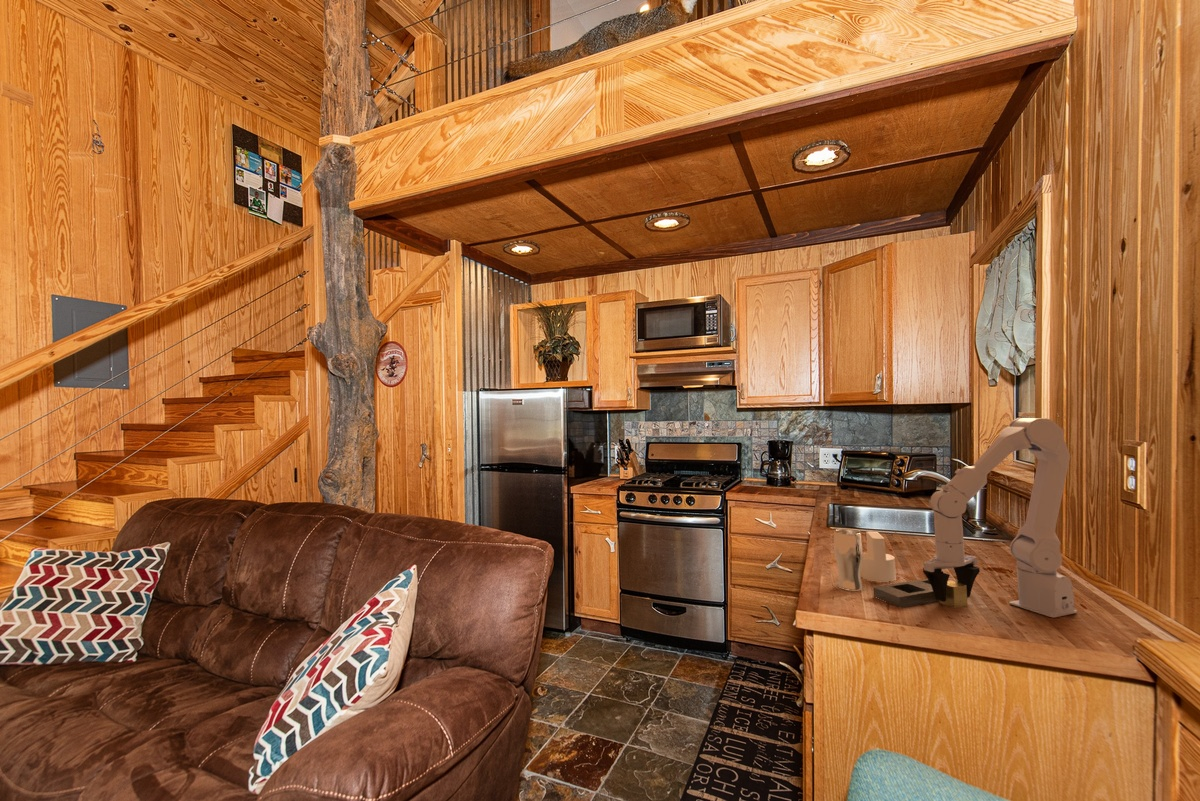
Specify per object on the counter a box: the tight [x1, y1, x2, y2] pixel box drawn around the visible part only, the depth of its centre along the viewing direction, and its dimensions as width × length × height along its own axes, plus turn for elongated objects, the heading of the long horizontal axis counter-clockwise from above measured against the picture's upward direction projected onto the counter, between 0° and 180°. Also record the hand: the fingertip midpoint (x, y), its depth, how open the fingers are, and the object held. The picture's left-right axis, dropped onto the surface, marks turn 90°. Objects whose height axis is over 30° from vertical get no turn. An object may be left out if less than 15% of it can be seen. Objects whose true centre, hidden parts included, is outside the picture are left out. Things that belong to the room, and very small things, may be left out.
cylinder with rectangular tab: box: [861, 530, 897, 583], centre depth 148 cm, size 9×9×12 cm
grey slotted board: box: [872, 577, 958, 609], centre depth 132 cm, size 22×8×2 cm, turn 107°
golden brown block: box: [938, 579, 969, 609], centre depth 126 cm, size 4×4×5 cm
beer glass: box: [833, 528, 864, 591], centre depth 140 cm, size 7×7×15 cm
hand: (952, 598), depth 126 cm, fingers open, 7 cm apart
